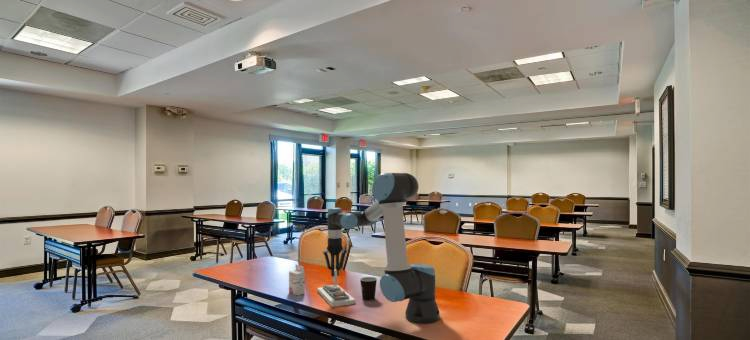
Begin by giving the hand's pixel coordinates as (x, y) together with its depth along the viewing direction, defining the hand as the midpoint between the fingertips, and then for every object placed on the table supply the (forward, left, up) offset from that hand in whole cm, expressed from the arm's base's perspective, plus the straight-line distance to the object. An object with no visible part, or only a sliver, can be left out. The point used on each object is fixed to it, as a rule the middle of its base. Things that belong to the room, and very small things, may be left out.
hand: (335, 282), depth 200 cm
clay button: (-8, 0, -4) cm, 9 cm away
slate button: (0, 0, -4) cm, 4 cm away
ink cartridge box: (+16, +17, -8) cm, 25 cm away
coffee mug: (-8, -16, -8) cm, 20 cm away
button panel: (0, 0, -8) cm, 8 cm away
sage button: (+8, 0, -6) cm, 10 cm away
